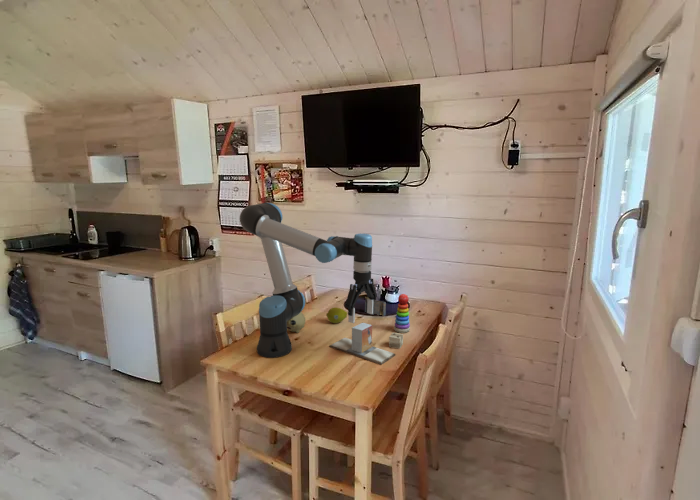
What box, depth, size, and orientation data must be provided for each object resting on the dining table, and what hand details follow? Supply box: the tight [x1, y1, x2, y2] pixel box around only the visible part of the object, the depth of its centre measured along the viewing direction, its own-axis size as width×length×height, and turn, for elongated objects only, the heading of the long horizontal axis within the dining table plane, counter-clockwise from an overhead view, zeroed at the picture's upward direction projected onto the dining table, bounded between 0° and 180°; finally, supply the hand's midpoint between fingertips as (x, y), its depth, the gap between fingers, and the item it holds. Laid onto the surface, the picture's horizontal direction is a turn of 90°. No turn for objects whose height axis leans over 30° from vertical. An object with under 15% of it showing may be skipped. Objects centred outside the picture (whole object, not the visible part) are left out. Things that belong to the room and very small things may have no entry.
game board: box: [329, 337, 397, 366], centre depth 183 cm, size 11×28×1 cm, turn 52°
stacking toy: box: [393, 293, 411, 334], centre depth 204 cm, size 8×8×19 cm
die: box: [388, 332, 404, 350], centre depth 188 cm, size 5×5×5 cm
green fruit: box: [326, 307, 348, 324], centre depth 215 cm, size 11×8×8 cm
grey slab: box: [364, 296, 387, 317], centre depth 227 cm, size 11×3×10 cm, turn 60°
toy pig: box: [287, 311, 306, 334], centre depth 203 cm, size 10×12×11 cm
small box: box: [351, 322, 373, 353], centre depth 182 cm, size 8×6×10 cm
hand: (360, 317), depth 180 cm, fingers open, 13 cm apart
